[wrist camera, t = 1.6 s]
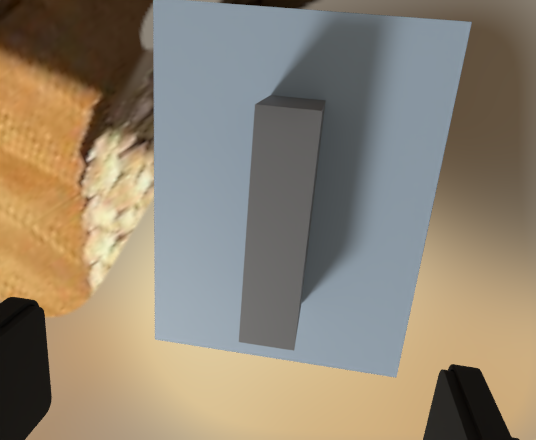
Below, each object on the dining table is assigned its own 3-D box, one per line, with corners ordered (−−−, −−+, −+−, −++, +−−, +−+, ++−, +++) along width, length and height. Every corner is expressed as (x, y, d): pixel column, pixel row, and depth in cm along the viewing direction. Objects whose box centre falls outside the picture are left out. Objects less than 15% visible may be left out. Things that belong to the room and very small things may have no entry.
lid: (161, 0, 21) (109, -16, 16) (465, 23, 19) (505, 13, 15) (161, 329, 26) (123, 388, 22) (394, 365, 25) (406, 436, 20)
